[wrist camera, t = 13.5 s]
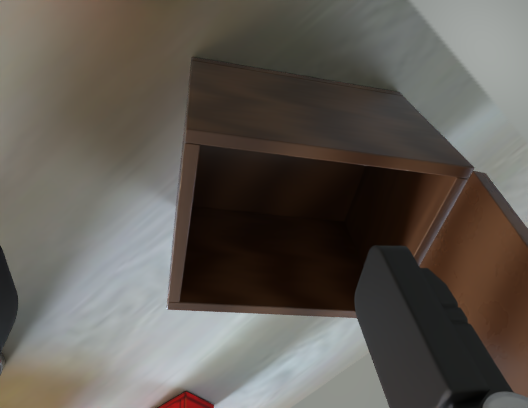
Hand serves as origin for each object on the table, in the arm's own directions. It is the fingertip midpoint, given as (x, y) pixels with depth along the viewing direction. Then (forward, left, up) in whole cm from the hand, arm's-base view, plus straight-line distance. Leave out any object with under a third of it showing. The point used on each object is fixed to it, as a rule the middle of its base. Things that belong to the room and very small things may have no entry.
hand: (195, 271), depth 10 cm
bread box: (+8, -9, -24) cm, 27 cm away
